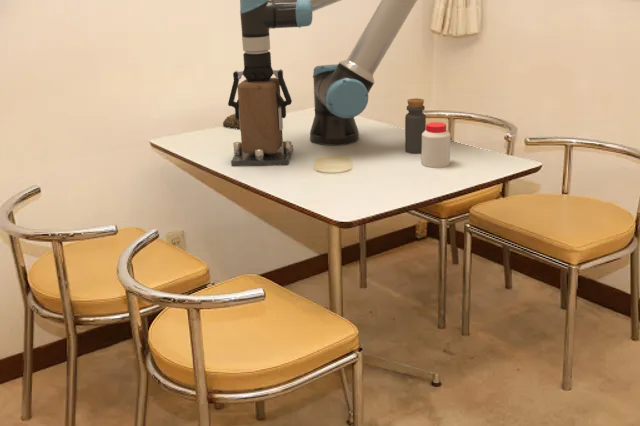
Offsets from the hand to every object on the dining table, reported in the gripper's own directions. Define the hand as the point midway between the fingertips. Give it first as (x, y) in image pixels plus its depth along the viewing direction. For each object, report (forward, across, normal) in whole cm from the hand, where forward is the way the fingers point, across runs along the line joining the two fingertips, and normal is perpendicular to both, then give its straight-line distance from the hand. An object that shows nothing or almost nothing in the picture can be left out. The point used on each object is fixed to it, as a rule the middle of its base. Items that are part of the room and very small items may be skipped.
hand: (261, 129), depth 223 cm
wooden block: (+6, 0, 0) cm, 6 cm away
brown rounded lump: (+9, +11, -40) cm, 42 cm away
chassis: (+8, 0, 0) cm, 8 cm away
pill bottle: (+9, -49, +9) cm, 50 cm away
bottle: (+9, -44, -4) cm, 45 cm away
